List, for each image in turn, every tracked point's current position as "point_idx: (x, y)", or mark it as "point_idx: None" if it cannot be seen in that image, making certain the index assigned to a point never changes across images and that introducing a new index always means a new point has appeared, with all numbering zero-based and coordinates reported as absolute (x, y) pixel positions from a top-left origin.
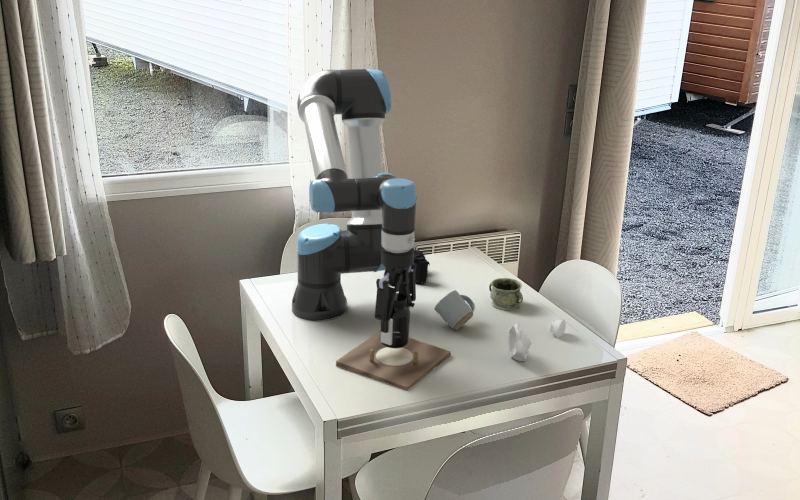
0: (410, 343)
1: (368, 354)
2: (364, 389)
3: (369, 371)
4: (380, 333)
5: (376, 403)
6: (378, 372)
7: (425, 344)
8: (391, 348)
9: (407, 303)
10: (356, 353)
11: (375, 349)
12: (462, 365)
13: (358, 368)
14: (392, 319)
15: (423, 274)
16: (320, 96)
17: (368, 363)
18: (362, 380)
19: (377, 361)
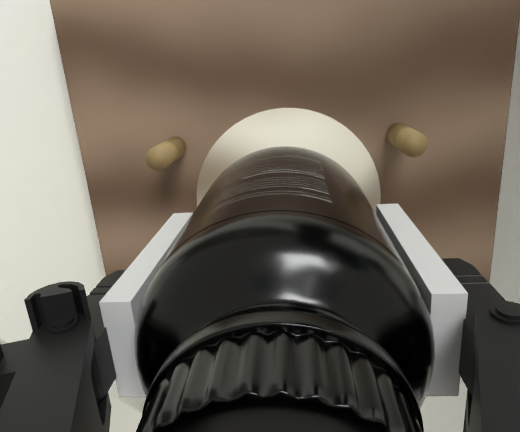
0: (447, 190)
1: (216, 88)
2: (37, 225)
3: (102, 193)
4: (221, 177)
5: (10, 310)
6: (125, 229)
7: (478, 253)
8: (339, 148)
9: (468, 408)
10: (180, 29)
11: (281, 85)
12: (430, 410)
13: (84, 137)
14: (144, 396)
15: None
16: None
17: (149, 146)
18: (76, 179)
19: (193, 169)
